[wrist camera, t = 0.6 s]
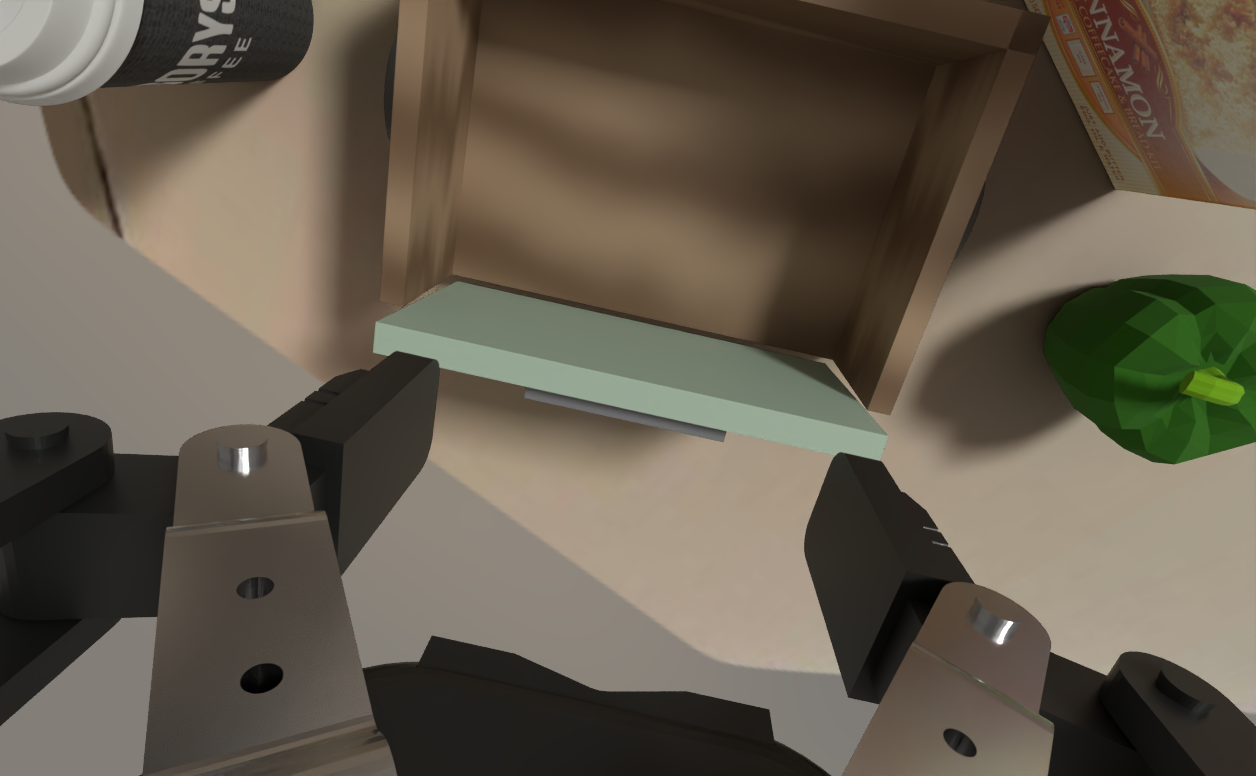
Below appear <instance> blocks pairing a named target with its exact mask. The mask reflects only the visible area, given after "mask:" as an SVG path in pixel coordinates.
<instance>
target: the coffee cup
mask: <svg viewBox="0 0 1256 776" xmlns="http://www.w3.org/2000/svg"><path fill="white" fill-rule="evenodd" d="M312 33H313V7H312V2H311V0H0V100H3V101H7V102H11V103H16V104H22V105H33V106H49V105H57V104H63V103H67V102H71V101H74V100H77V99H79V98H82V97H84V96H86V95H88V94H90V93H91V92H93V91H95V90H96V89H98V88H105V87H126V86H148V85H172V84H196V83H222V82H248V81H267V80H273V79H276V78H279V77H282V76H284V75H286V74H287V73H289V72H290V71H292V70H293V69H294V68H295V67H296V66H297V65H298V64H299V63H300V62H301V60H302V59H303V57H304V56H305V54H306V52H307V50H308V48H309V45H310V42H311V38H312Z"/></svg>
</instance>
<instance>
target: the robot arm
mask: <svg viewBox="0 0 1256 776" xmlns="http://www.w3.org/2000/svg"><path fill="white" fill-rule="evenodd" d="M439 374H440V368H439V363H438V361H437V360H436V359H431V358H427V357H422V356H418V355H414V354H409V353H405V352H400V351H395V352H393V353H392V354H391V355H389V356H388V357H387V358H385V359H384V360H383V361H382V362H380V363H379V364H378V365H376V366H375V367H374V368H373V369H371V370H370V371H367V370H362V369H360V370H356V371H353V372H350V373H346V374H343V375H339V376H336V377H334V378H333V379H331V380H330V381H329V382H327V383H326V384H324V385H323V386H322V387H320V388H319V390H318V391H315V392H313V393H312V394H311V395H309V396H308V397H307V398H305V401H301V402H300V403H298V404H297V405H295V406H294V407H292V408H291V409H290V410H288V411H287V412H285V413H284V414H283V415H281V416H280V417H278V418H277V419H276V420H274V421H273V422H272V423H270V424H269V425H267V426H263V425H251V424H250V425H249V424H247V425H231V426H223V427H218V428H214V429H210V430H207V431H204V432H202V433H199V434H197V435H195V436H193V437H192V438H190V439H188V440H187V441H186V442H185V443H184V444H183V445H182V447H181V448H180V452H179V456H163V455H138V454H114V453H113V443H112V433H111V429H110V427H109V426H108V425H107V424H106V423H105V422H103V421H101V420H100V419H97V418H94V417H91V416H88V415H81V414H76V413H62V412H52V413H35V414H27V415H20V416H14V417H10V418H5V419H2V420H0V726H1V725H2V724H3V723H4V722H5V721H6V720H8V719H9V718H10V717H11V716H12V715H13V714H15V713H16V712H17V711H18V710H19V709H20V708H21V707H22V706H23V705H25V704H26V703H27V702H28V701H29V700H30V699H32V698H33V697H34V696H35V695H36V694H37V693H38V692H40V691H41V690H42V689H43V688H44V687H45V686H46V685H47V684H49V683H50V682H51V681H52V680H53V679H54V678H55V677H57V676H58V675H59V674H60V673H61V672H62V671H63V670H64V669H65V668H67V667H68V666H69V665H70V664H71V663H72V662H74V661H75V660H76V659H77V658H78V657H79V656H80V655H82V654H83V653H84V652H85V651H86V650H87V649H88V648H89V647H91V646H92V645H93V644H94V643H95V642H96V641H97V640H98V639H100V638H101V637H102V636H103V635H104V634H105V633H106V632H108V631H109V630H110V629H111V628H112V627H113V626H114V625H115V624H116V623H117V622H118V621H119V620H120V619H121V618H131V617H157V628H156V638H155V648H154V659H153V669H152V680H151V690H150V701H149V712H148V723H147V732H146V743H145V753H144V765H143V774H142V775H140V776H831V775H830V774H828V773H827V772H826V771H824V770H823V769H822V768H821V767H819V766H818V765H816V764H815V763H813V762H812V761H811V760H809V759H808V758H806V757H805V756H803V755H801V754H800V753H798V752H796V751H795V750H793V749H791V748H789V747H787V746H786V745H784V744H782V743H779V742H778V741H775V740H774V736H773V731H772V724H771V718H770V712H769V709H764V708H760V707H755V706H751V705H746V704H741V703H737V702H732V701H728V700H723V699H719V698H714V697H710V696H705V695H700V694H696V693H691V692H687V691H682V692H681V691H679V692H675V691H674V692H673V691H668V692H666V691H661V692H607V691H599V690H595V689H592V688H590V687H588V686H585V685H583V684H581V683H579V682H576V681H574V680H572V679H570V678H568V677H565V676H563V675H561V674H559V673H557V672H554V671H552V670H550V669H548V668H545V667H543V666H541V665H539V664H536V663H534V662H532V661H530V660H527V659H525V658H523V657H521V656H519V655H516V654H514V653H509V652H504V651H500V650H495V649H491V648H486V647H482V646H477V645H473V644H468V643H464V642H459V641H455V640H450V639H445V638H441V637H436V636H432V637H431V638H430V641H429V643H428V645H427V647H426V649H425V651H424V653H423V655H422V657H421V659H420V661H419V662H400V663H391V664H383V665H377V666H372V667H367V668H362V665H361V661H360V657H359V653H358V648H357V644H356V640H355V635H354V631H353V626H352V623H351V618H350V613H349V609H348V605H347V601H346V597H345V593H344V587H343V583H342V579H341V576H342V574H343V573H344V572H345V570H346V569H347V568H348V566H349V565H350V564H351V562H352V561H353V560H354V558H355V557H356V556H357V555H358V553H359V552H360V551H361V549H362V548H363V547H364V545H365V544H366V543H367V541H368V540H369V539H370V537H371V536H372V535H373V533H374V532H375V530H376V529H377V528H378V527H379V525H380V524H381V523H382V521H383V520H384V519H385V517H386V516H387V515H388V513H389V512H390V511H391V509H392V508H393V507H394V505H395V504H396V502H397V501H398V500H399V499H400V497H401V496H402V495H403V493H404V492H405V491H406V490H407V488H408V487H409V486H410V484H411V483H412V481H413V480H414V479H415V478H416V476H417V475H418V474H419V472H420V471H421V469H422V468H423V466H424V464H425V462H426V459H427V457H428V454H429V451H430V447H431V442H432V436H433V428H434V419H435V410H436V401H437V392H438V383H439ZM804 552H805V558H806V561H807V564H808V567H809V571H810V574H811V577H812V581H813V584H814V587H815V590H816V594H817V597H818V600H819V603H820V607H821V610H822V613H823V616H824V620H825V623H826V626H827V630H828V633H829V636H830V639H831V643H832V646H833V649H834V652H835V656H836V659H837V662H838V666H839V669H840V672H841V675H842V679H843V682H844V685H845V688H846V692H847V695H848V697H849V698H853V699H858V700H862V701H867V702H871V703H876V704H879V706H878V708H877V710H876V712H875V714H874V716H873V717H872V719H871V721H870V723H869V725H868V727H867V729H866V731H865V733H864V734H863V736H862V738H861V740H860V742H859V744H858V746H857V748H856V750H855V751H854V753H853V755H852V757H851V759H850V761H849V763H848V765H847V766H846V768H845V770H844V772H843V774H842V776H1256V726H1255V725H1254V724H1253V723H1252V722H1251V721H1250V720H1249V719H1248V718H1247V717H1246V716H1245V715H1244V714H1243V713H1242V712H1241V711H1240V710H1239V709H1238V708H1237V707H1236V706H1235V705H1234V704H1233V703H1232V702H1231V701H1230V700H1229V699H1228V698H1227V697H1225V696H1224V695H1223V694H1222V693H1221V692H1219V691H1218V690H1217V689H1215V688H1214V687H1213V686H1211V685H1210V684H1209V683H1207V682H1206V681H1204V680H1203V679H1201V678H1200V677H1198V676H1196V675H1195V674H1193V673H1191V672H1190V671H1188V670H1186V669H1184V668H1182V667H1180V666H1178V665H1176V664H1174V663H1172V662H1170V661H1168V660H1165V659H1163V658H1160V657H1157V656H1154V655H1151V654H1147V653H1142V652H1131V651H1130V652H1125V653H1123V654H1121V655H1120V657H1119V658H1118V660H1117V662H1116V663H1115V665H1114V666H1113V668H1112V669H1111V671H1110V672H1109V674H1108V675H1107V676H1106V675H1104V674H1101V673H1099V672H1097V671H1094V670H1092V669H1089V668H1087V667H1085V666H1082V665H1080V664H1078V663H1075V662H1073V661H1070V660H1068V659H1066V658H1063V657H1061V656H1058V655H1056V654H1054V653H1052V652H1050V650H1051V641H1050V637H1049V635H1048V633H1047V632H1046V630H1045V629H1044V627H1043V626H1042V625H1041V623H1040V622H1039V621H1038V620H1037V619H1036V618H1035V617H1034V616H1032V615H1031V614H1030V613H1029V612H1028V611H1027V610H1025V609H1024V608H1023V607H1021V606H1020V605H1018V604H1017V603H1015V602H1014V601H1012V600H1011V599H1009V598H1007V597H1005V596H1004V595H1002V594H1000V593H997V592H995V591H993V590H991V589H988V588H986V587H983V586H979V585H976V584H975V583H974V582H973V580H972V579H971V577H970V576H969V574H968V573H967V571H966V570H965V568H964V567H963V565H962V564H961V562H960V561H959V559H958V558H957V556H956V555H955V553H954V552H953V550H952V549H951V548H950V547H948V543H947V541H946V540H945V538H944V537H943V535H942V534H941V532H938V528H937V526H936V525H935V523H934V522H933V520H932V519H931V517H930V516H929V514H928V513H927V511H926V510H925V509H924V508H922V507H921V506H920V505H919V504H918V503H916V502H915V501H914V500H913V499H912V498H911V497H909V496H908V495H907V494H906V493H904V492H901V491H900V489H899V488H898V486H897V485H896V483H895V481H894V480H893V478H892V477H891V475H890V473H889V472H888V470H887V469H886V467H885V465H884V464H883V463H882V462H881V461H879V460H874V459H870V458H866V457H861V456H857V455H852V454H848V453H843V452H839V453H838V454H836V456H835V457H834V458H833V460H832V462H831V464H830V467H829V469H828V472H827V474H826V477H825V480H824V482H823V485H822V488H821V490H820V493H819V496H818V498H817V501H816V503H815V506H814V509H813V511H812V514H811V517H810V519H809V522H808V525H807V529H806V534H805V542H804Z"/></svg>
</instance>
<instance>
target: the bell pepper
mask: <svg viewBox="0 0 1256 776" xmlns="http://www.w3.org/2000/svg"><path fill="white" fill-rule="evenodd" d="M1043 353H1044V355H1045V357H1046V359H1047V361H1048V363H1049V365H1050V367H1051V369H1052V371H1053V373H1054V375H1055V377H1056V379H1057V381H1058V383H1059V385H1060V387H1061V389H1062V390H1063V392H1064V393H1065V395H1066V396H1067V398H1068V399H1069V401H1070V402H1071V404H1072V405H1073V407H1074V408H1075V409H1076V410H1078V411H1079V412H1080V413H1082V414H1083V415H1084V416H1086V417H1087V418H1088V419H1090V420H1091V421H1092V422H1094V423H1095V424H1096V425H1097V427H1098V428H1099V429H1100V431H1102V432H1103V433H1104V434H1106V435H1107V436H1108V437H1109V438H1111V439H1112V440H1113V441H1115V442H1116V443H1117V444H1119V445H1120V446H1121V447H1123V448H1124V449H1126V450H1128V451H1130V452H1132V453H1135V454H1137V455H1139V456H1141V457H1143V458H1145V459H1147V460H1149V461H1152V462H1157V463H1167V464H1177V463H1181V462H1185V461H1188V460H1192V459H1196V458H1199V457H1203V456H1207V455H1210V454H1214V453H1217V452H1221V451H1225V450H1228V449H1232V448H1236V447H1239V446H1243V445H1246V444H1250V443H1254V442H1256V290H1254V289H1252V288H1251V287H1249V286H1247V285H1245V284H1241V283H1237V282H1233V281H1230V280H1226V279H1222V278H1218V277H1214V276H1210V275H1173V274H1172V275H1148V276H1140V277H1133V278H1127V279H1120V280H1118V281H1116V282H1114V283H1112V284H1110V285H1109V286H1108V287H1107V288H1093V289H1091V290H1089V291H1087V292H1085V293H1083V294H1081V295H1079V296H1077V297H1076V298H1074V299H1072V300H1070V301H1068V302H1066V303H1065V304H1064V305H1063V307H1062V308H1061V309H1060V311H1059V312H1058V314H1057V315H1056V316H1055V318H1054V319H1053V320H1052V322H1051V323H1050V324H1049V326H1048V327H1047V331H1046V337H1045V343H1044V349H1043Z"/></svg>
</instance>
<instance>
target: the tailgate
mask: <svg viewBox="0 0 1256 776" xmlns="http://www.w3.org/2000/svg"><path fill="white" fill-rule="evenodd" d="M395 351H400V352H405V353H409V354H414V355H418V356H422V357H427V358H431V359H436V360H437V361H438V363H439V368H444V369H448V370H453V371H457V372H462V373H467V374H471V375H476V376H480V377H485V378H489V379H494V380H498V381H503V382H507V383H512V384H516V385H521V386H525V387H526V390H525V396H524V398H526V399H531V400H535V401H540V402H544V403H549V404H553V405H558V406H563V407H567V408H572V409H576V410H581V411H585V412H590V413H594V414H599V415H603V416H608V417H612V418H617V419H621V420H626V421H630V422H635V423H639V424H644V425H648V426H653V427H657V428H662V429H666V430H671V431H675V432H680V433H684V434H689V435H693V436H698V437H702V438H707V439H711V440H716V441H720V442H724V438H725V435H726V431H728V432H732V433H737V434H741V435H746V436H750V437H755V438H759V439H764V440H768V441H773V442H777V443H782V444H786V445H791V446H795V447H800V448H804V449H809V450H813V451H818V452H822V453H827V454H831V455H836V454H838V453H839V452H843V453H848V454H852V455H857V456H861V457H866V458H870V459H874V460H879V461H880V458H881V455H882V452H883V450H884V447H885V444H886V442H887V439H888V435H887V434H886V433H885V431H884V430H883V429H882V428H881V427H880V426H879V425H878V423H877V422H876V421H875V420H874V419H873V418H872V417H871V415H870V414H869V413H868V412H867V411H866V410H865V409H864V407H863V406H862V405H861V404H860V403H859V402H858V401H857V400H856V398H855V397H854V396H853V395H852V394H851V393H850V392H849V390H848V389H847V388H846V387H845V386H844V385H843V384H842V382H841V381H840V380H839V379H838V378H837V377H836V376H835V374H834V373H833V372H832V371H831V370H830V369H829V368H828V366H827V365H826V364H825V363H821V362H816V361H812V360H807V359H803V358H798V357H794V356H789V355H785V354H780V353H776V352H772V351H767V350H763V349H758V348H754V347H749V346H745V345H740V344H736V343H731V342H727V341H723V340H718V339H714V338H709V337H705V336H700V335H696V334H691V333H687V332H682V331H678V330H674V329H669V328H665V327H660V326H656V325H651V324H647V323H642V322H638V321H633V320H629V319H625V318H620V317H616V316H611V315H607V314H602V313H598V312H593V311H589V310H584V309H580V308H575V307H571V306H567V305H562V304H558V303H553V302H549V301H544V300H540V299H535V298H531V297H526V296H522V295H518V294H513V293H509V292H504V291H500V290H495V289H491V288H486V287H482V286H477V285H473V284H469V283H464V282H460V281H457V282H455V283H453V284H451V285H449V286H447V287H445V288H443V289H441V290H439V291H437V292H435V293H433V294H431V295H429V296H427V297H425V298H423V299H421V300H419V301H417V302H415V303H413V304H411V305H409V306H407V307H405V308H403V309H401V310H399V311H397V312H395V313H392V314H390V315H388V316H386V317H384V318H382V319H380V320H378V321H376V325H375V335H374V346H373V353H376V354H381V355H385V356H389V355H391V354H392V353H393V352H395Z"/></svg>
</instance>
